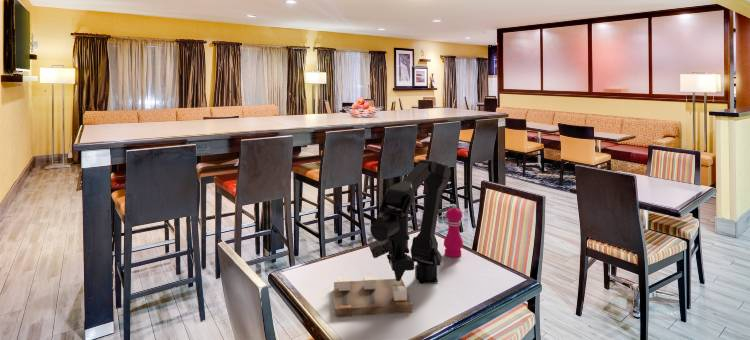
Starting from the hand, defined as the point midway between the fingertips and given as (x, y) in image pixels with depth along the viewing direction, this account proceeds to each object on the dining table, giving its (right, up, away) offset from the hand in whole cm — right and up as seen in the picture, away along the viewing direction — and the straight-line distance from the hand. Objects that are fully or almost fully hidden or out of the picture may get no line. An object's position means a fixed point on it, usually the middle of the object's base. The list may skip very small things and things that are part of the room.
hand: (397, 280), depth 131 cm
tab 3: (0, -5, -2) cm, 5 cm away
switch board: (-8, -7, +3) cm, 11 cm away
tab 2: (-8, -3, +5) cm, 10 cm away
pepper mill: (+23, 0, +38) cm, 44 cm away
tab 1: (-16, -3, +4) cm, 17 cm away
